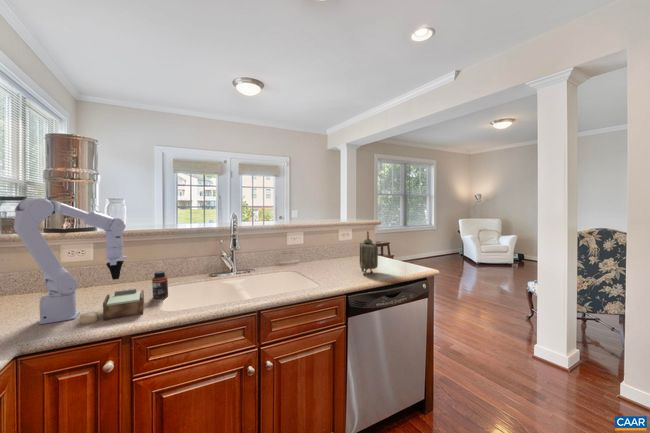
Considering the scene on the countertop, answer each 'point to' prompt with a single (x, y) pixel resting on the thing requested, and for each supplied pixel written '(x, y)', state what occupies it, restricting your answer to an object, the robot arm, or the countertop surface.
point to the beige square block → (88, 318)
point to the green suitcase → (368, 255)
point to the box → (123, 308)
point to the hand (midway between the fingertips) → (115, 278)
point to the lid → (124, 297)
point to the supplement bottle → (160, 285)
